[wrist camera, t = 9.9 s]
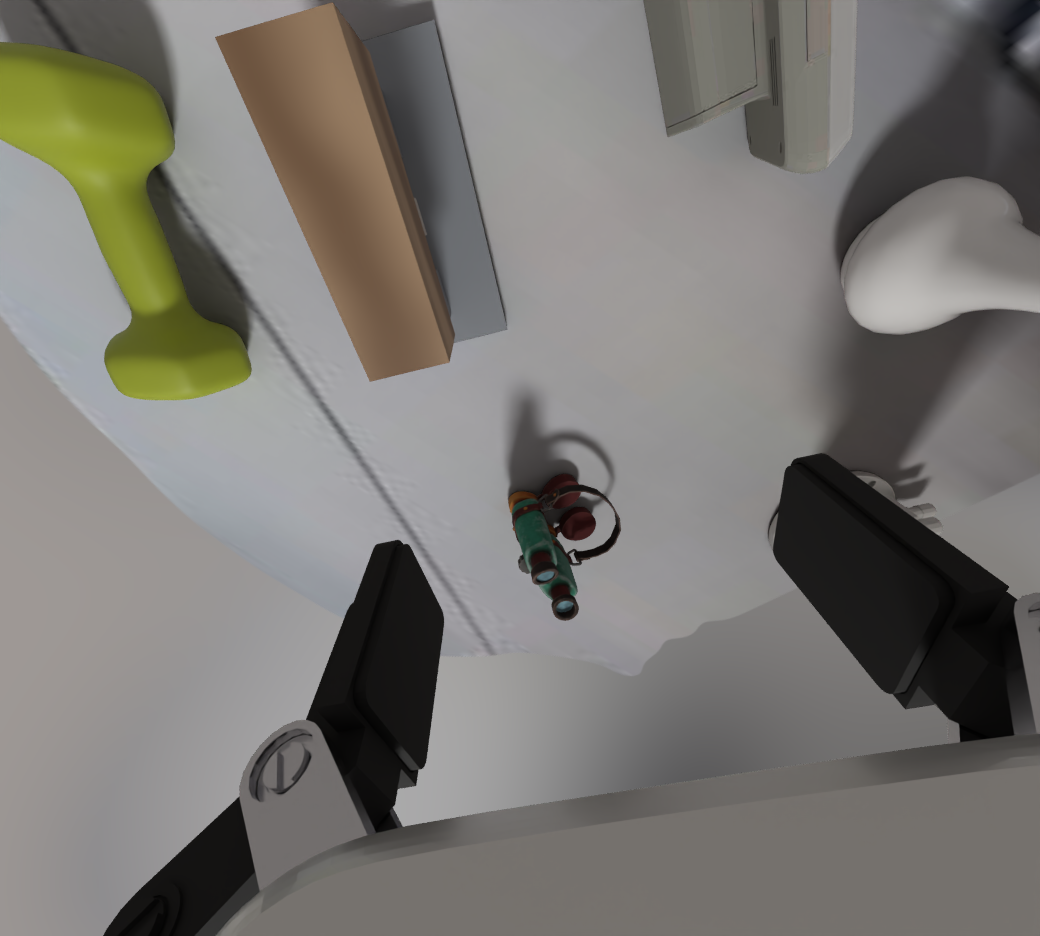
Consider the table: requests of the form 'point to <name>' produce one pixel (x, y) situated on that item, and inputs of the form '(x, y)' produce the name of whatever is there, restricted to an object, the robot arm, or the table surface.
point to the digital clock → (760, 72)
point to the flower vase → (942, 258)
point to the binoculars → (542, 545)
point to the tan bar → (345, 183)
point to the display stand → (439, 174)
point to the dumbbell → (119, 211)
